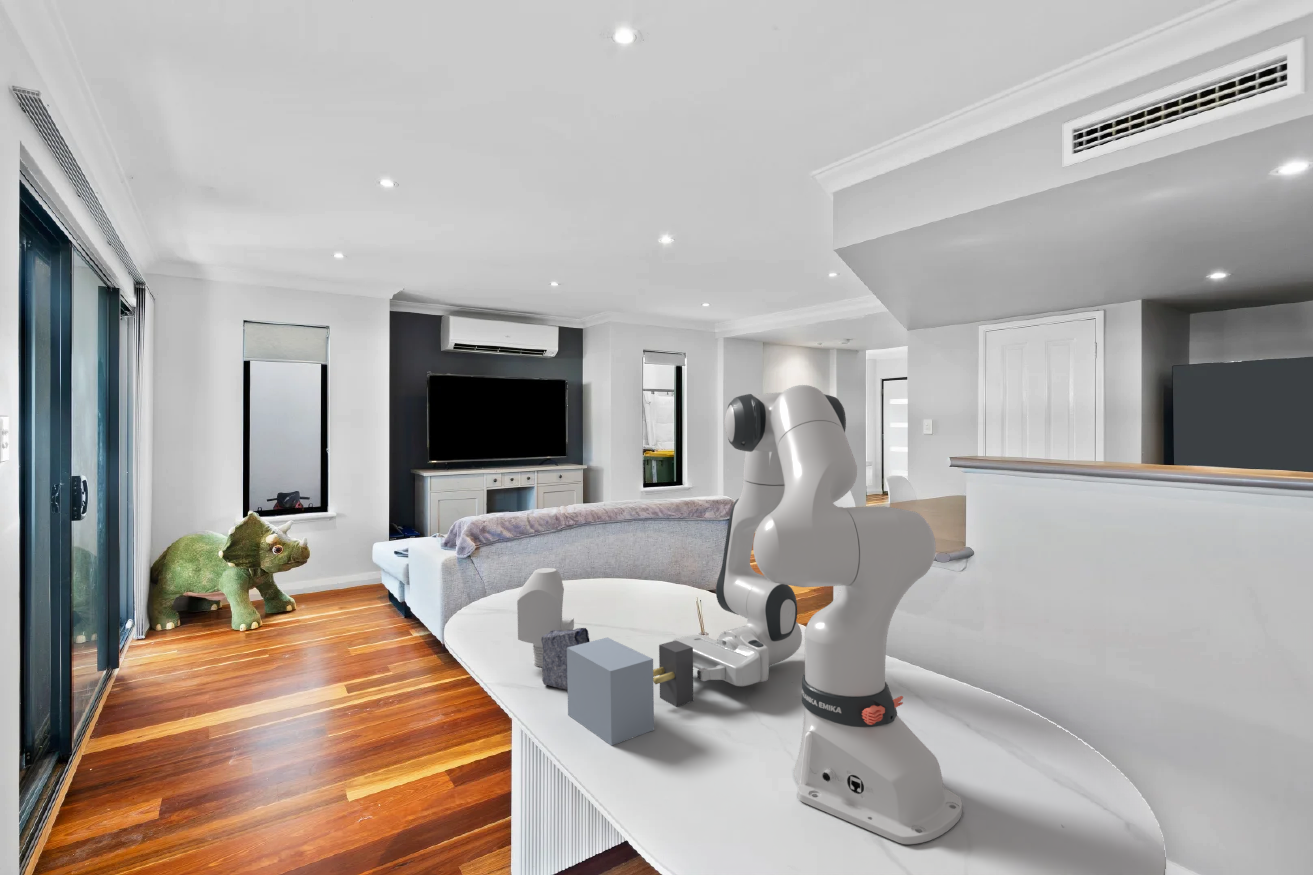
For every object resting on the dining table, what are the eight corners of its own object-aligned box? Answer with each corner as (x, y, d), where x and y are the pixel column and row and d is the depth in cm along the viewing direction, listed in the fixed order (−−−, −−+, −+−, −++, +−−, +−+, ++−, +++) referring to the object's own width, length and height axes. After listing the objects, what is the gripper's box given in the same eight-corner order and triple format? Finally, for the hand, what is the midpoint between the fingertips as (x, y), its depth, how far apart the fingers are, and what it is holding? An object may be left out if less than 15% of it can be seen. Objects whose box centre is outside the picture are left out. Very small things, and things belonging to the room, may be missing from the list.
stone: (602, 686, 131) (584, 690, 122) (556, 691, 133) (536, 696, 124) (596, 625, 135) (578, 624, 126) (552, 631, 137) (531, 631, 128)
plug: (694, 700, 120) (693, 647, 120) (659, 713, 115) (658, 657, 115) (677, 691, 124) (676, 639, 124) (642, 703, 119) (641, 649, 119)
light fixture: (561, 671, 135) (559, 575, 134) (518, 669, 136) (516, 574, 136) (574, 655, 144) (572, 566, 144) (534, 653, 146) (532, 564, 145)
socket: (655, 729, 109) (654, 658, 109) (611, 745, 104) (610, 671, 103) (609, 701, 120) (608, 636, 120) (568, 714, 115) (566, 647, 115)
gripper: (702, 623, 138) (649, 637, 130) (774, 649, 122) (719, 667, 113) (702, 653, 138) (650, 668, 130) (774, 682, 122) (719, 702, 114)
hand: (683, 668), depth 122 cm, fingers open, 8 cm apart
